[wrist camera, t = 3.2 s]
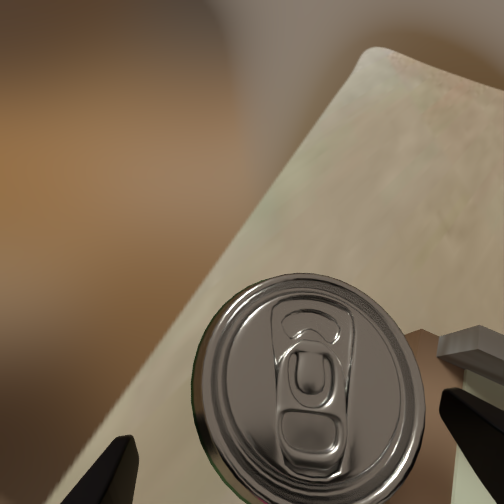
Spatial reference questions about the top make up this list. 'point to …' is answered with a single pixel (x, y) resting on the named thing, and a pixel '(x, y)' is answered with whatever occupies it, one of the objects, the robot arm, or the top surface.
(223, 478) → the soda can
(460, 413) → the robot arm
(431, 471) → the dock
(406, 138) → the top surface
